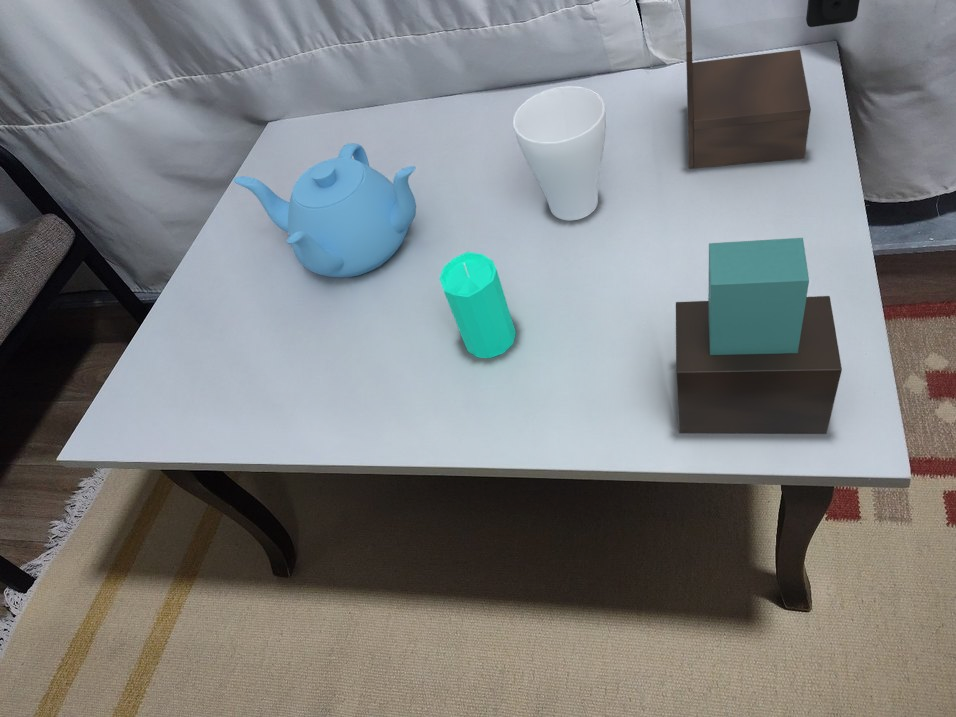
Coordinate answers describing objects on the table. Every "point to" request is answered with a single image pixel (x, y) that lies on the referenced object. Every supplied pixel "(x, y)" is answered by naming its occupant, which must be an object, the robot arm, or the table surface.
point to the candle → (478, 304)
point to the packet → (756, 296)
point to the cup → (564, 146)
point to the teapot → (342, 213)
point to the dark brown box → (757, 378)
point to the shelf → (745, 107)
